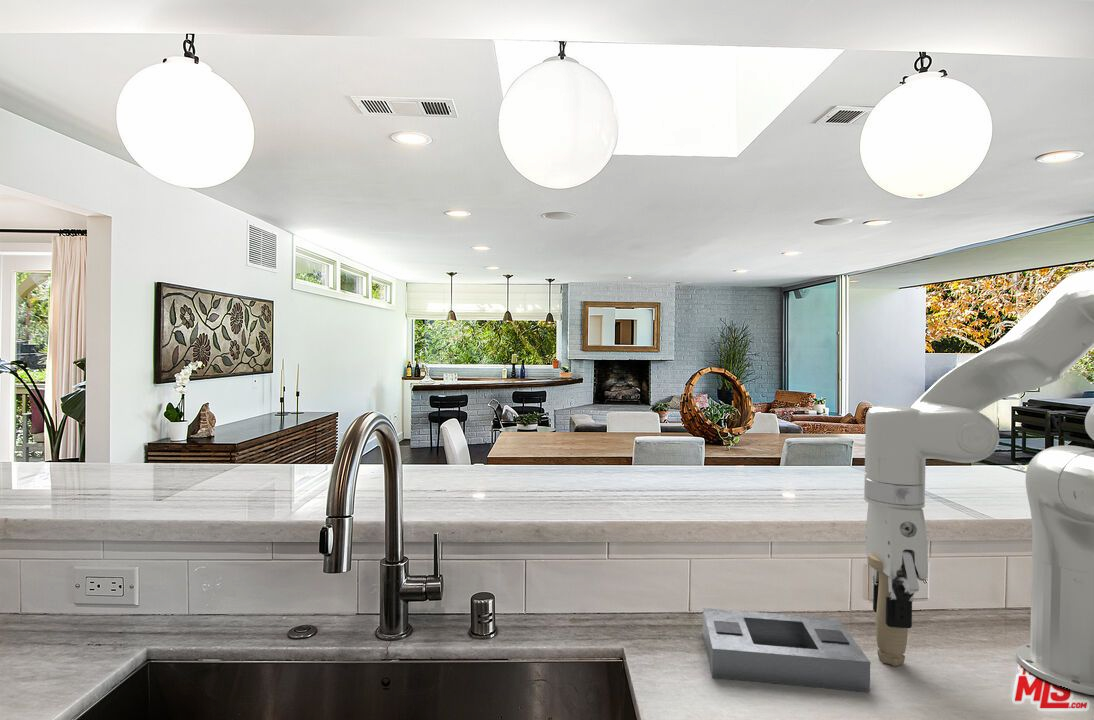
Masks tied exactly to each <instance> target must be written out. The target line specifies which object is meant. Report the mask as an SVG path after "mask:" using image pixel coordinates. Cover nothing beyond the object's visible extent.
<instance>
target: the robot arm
mask: <svg viewBox="0 0 1094 720" xmlns="http://www.w3.org/2000/svg"><path fill="white" fill-rule="evenodd" d="M1093 348H1094V266H1093V267H1090V268H1084V269H1081V270H1078V271H1075V272H1073V273H1071V274H1069V275H1068V276H1065V278H1063V280H1061V281H1060V282H1059V283H1057V285H1056V286H1054V288H1052V289H1051V290H1050V291H1049V292H1048V293H1047V294H1046V295H1045V296H1044V297H1043V298H1041V300H1040V301H1039V302H1038V303H1037V304H1036V305H1035V306H1033V308H1032V309H1031V310H1030V311H1029V312H1028V313H1026V315H1025V316H1023V318H1021V319H1020V320H1019V322H1017V323H1016V324H1015V325H1013V327H1012V328H1011V329H1010V330H1009V331H1008V332H1007V333H1006V334H1005V335H1003V336H1002V337H1001V338H1000V339H999V340H998V341H996V342H995V343H994V344H992V345H990V346H988V347H987V348H985V349H983V350H982V351H980V352H978V353H977V354H975V355H974V356H972V357H970V358H969V359H968V360H966V361H964V362H962V363H961V364H959V365H958V366H956V367H955V368H953V369H952V370H950V371H948V372H947V373H945V374H944V375H943V376H942V377H941V378H939V379H938V380H937V381H936V382H934V384H932V385H931V386H930V387H929V388H928V389H927V390H926V391H925V392H924V393H923V394H922V395H921V396H920V397H919V398H918V399H917V400H916V401H914V402H913V404H912V405H911V406H900V405H898V406H897V405H876V406H872V407H870V408H869V409H868V410H867V412H866V416H865V431H864V432H865V438H864V441H865V442H864V447H865V448H864V488H863V489H864V493H863V495H864V497H863V499H864V501H866V502H867V503H868V505H867V513H866V523H865V525H866V528H865V552H866V555H867V554H868V553H872V554H873V555H874V556H875V557H877V558H878V559H879V560H880V561H881V562H882V568H883V572H884V573H885V574H886V575H887V576H888V587H889V597H886V624H887V625H888V626H889V627H898V628H908V629H911V628H912V626H913V602H914V600H915V599H914V598H915V597H914V596H915V593H918V592H919V591H920V590H919V589H920V585H919V581H920V582H925V581H927V579H928V577H929V571H928V570H929V569H928V568H929V567H928V565H929V564H928V562H929V560H928V556H929V555H928V541H927V540H928V539H927V538H928V537H927V527H926V526H927V525H926V519H925V514H924V509H923V508H925V505H926V465H927V464H926V461H927V460H926V459H933V460H941V461H947V462H952V463H953V462H954V463H963V464H969V463H976V462H981V461H982V460H985V459H987V458H989V457H990V456H991V455H992V454H994V452H995V451H996V450H997V448H998V447H999V443H1000V433H999V430H998V428H997V426H996V424H995V423H994V421H992V420H991V419H990V418H989V417H988V416H987V415H985V414H983V413H981V411H983V410H985V408H987V407H989V406H991V405H992V404H994V403H996V402H998V401H1001V400H1003V399H1006V398H1008V397H1010V396H1014V395H1018V394H1022V393H1025V392H1029V391H1033V390H1037V389H1040V388H1043V387H1045V386H1047V385H1050V384H1053V383H1055V382H1057V381H1058V380H1060V379H1061V378H1063V376H1065V375H1066V374H1067V373H1068V372H1069V371H1070V370H1071V369H1072V368H1073V367H1074V366H1075V365H1076V364H1077V363H1078V362H1079V361H1080V360H1081V359H1083V357H1084V356H1085V355H1086V354H1087V353H1088V352H1090V351H1091V350H1092V349H1093ZM1084 427H1085V428H1084V429H1085V432H1086V433H1087V434H1088V436H1089V438H1091V440H1093V441H1094V403H1093V404H1092V405H1091V406H1090V408H1089V409H1088V411H1087V413H1086V416H1085V419H1084ZM1024 482H1025V489H1026V494H1027V499H1028V505H1029V510H1030V517H1031V525H1032V526H1031V528H1032V529H1031V531H1032V532H1031V533H1032V541H1031V542H1032V543H1031V544H1032V547H1031V550H1032V551H1031V585H1030V586H1031V587H1030V588H1031V589H1030V592H1031V593H1030V595H1031V596H1030V597H1031V598H1030V631H1029V633H1030V637H1029V638H1030V639H1029V640H1030V641H1029V643H1027V644H1022V645H1019V646H1018V647H1017V649H1016V651H1015V652H1016V653H1015V658H1016V661H1017V662H1018V664H1019V665H1020V666H1021V667H1023V668H1024V669H1025V670H1026V671H1028V672H1029V673H1030V674H1032V675H1034V676H1036V677H1037V678H1039V679H1041V680H1043V681H1046V682H1048V683H1050V684H1053V685H1055V686H1058V687H1060V686H1062V687H1061V688H1063V687H1065V688H1064V689H1066V688H1068V689H1067V690H1069V689H1070V691H1072V692H1073V691H1074V692H1077V693H1081V694H1084V695H1085V694H1086V695H1088V696H1089V695H1090V696H1094V448H1090V447H1084V446H1079V445H1078V446H1077V445H1057V446H1050V447H1048V448H1045V449H1043V450H1041V451H1040V452H1038V453H1036V454H1035V456H1033V457H1032V458H1031V460H1030V461H1029V463H1028V465H1027V468H1026V470H1025V481H1024ZM897 572H901V573H903V576H898V575H897V574H896V573H897ZM918 580H919V581H918ZM896 581H899V582H904V583H902V585H900V584H899V585H898V586H897V587H896ZM872 582H873V585H872V587H873V589H872V592H873V595H872V610H873V611H874V613H876V612H877V601H878V588H879V572H878V571H877V570H875V569H874V568H873V571H872Z"/></svg>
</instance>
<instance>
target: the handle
mask: <svg viewBox="0 0 1094 720" xmlns="http://www.w3.org/2000/svg"><path fill="white" fill-rule="evenodd" d="M866 556H867V557H866V558H867V561H866V562H867V564H868V565H869V566H870V567H871V568H873V569H875V570H877V571H878V572H879V588H878V601H877V612H875V635H876V637H875V638H876V643H877V658H879V660H880V661H881V662H882V663H884V664H887V665H891V666H892V667H898V666H900V665H901V666H902V665H904V663H905V661H906V655H904V654H905V653H906V649H907V644H908V643H907V642H908V634H909V632H908V629H909V628H898V627H889V626H888V625H887V624H886V597H889V587H888V576H887V575H886V574H885V573H884V572H883V568H882V562H881V561H880V560H879V559H878V558H877V557H875V556H874V555H873V554H872V553H868V554H867V553H866ZM896 574H897V575H898V576H903V573H901V572H897V573H896ZM902 583H904V582H899V581H896V587H897V586H898V585H899V584H900V585H902Z"/></svg>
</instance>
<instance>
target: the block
mask: <svg viewBox="0 0 1094 720" xmlns="http://www.w3.org/2000/svg"><path fill="white" fill-rule="evenodd" d="M702 637H703V641H704V646H705V650H706V655H708V656H707V660H708V665H709V669H710V674H711V678H712V679H724V680H733V681H735V680H736V681H744V682H754V683H755V682H756V683H768V684H776V685H787V686H788V685H789V686H796V687H797V686H798V687H808V688H819V689H828V690H829V689H830V690H839V691H840V690H841V691H853V692H861V693H871V660H870V659H869V658H868V657H867V655H866V654H865V652H864V651H863V650H862V648H861V647H860V645H858V643H857V642H856V640H855V639H854V638H853V636H852V634H850V632H849V631H848V629H847V628H846V627H845V626H844V624H843V623H842V622H841V620H840V619H839V617H837V618H836V617H828V616H827V617H825V616H814V615H813V616H811V615H798V614H785V613H775V612H774V613H773V612H772V613H771V612H759V611H748V610H747V611H746V610H736V609H735V610H734V609H721V608H706V607H705V608H704V607H702Z"/></svg>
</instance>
